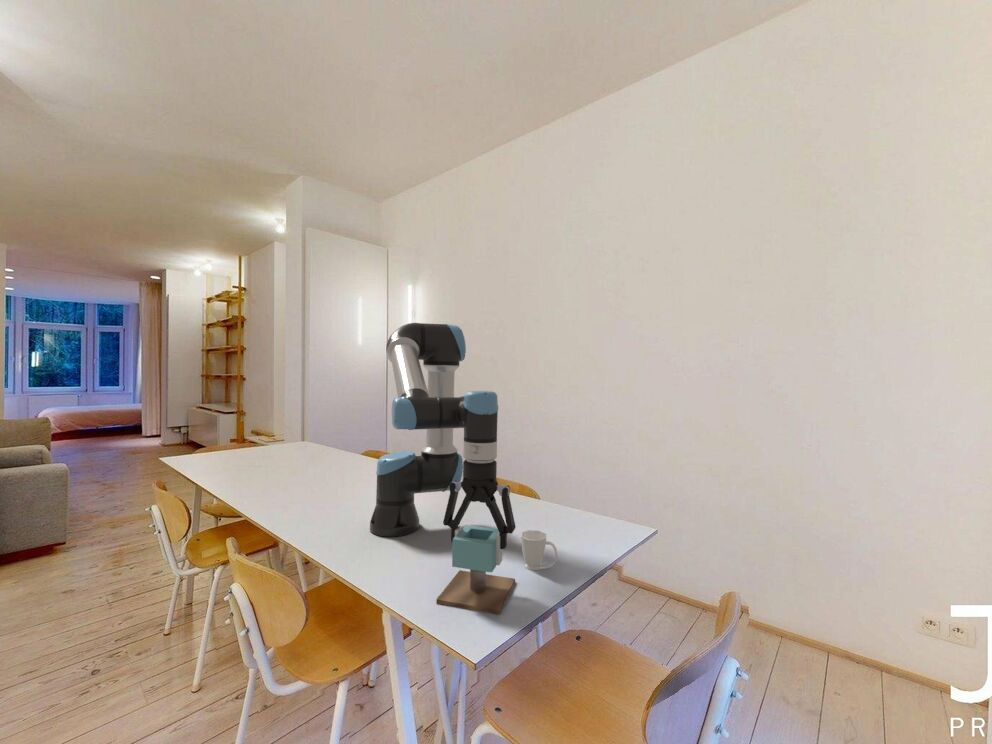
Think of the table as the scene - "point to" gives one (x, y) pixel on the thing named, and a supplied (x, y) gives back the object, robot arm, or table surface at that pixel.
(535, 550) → the cup
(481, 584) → the post stand
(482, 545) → the collar
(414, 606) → the table surface
